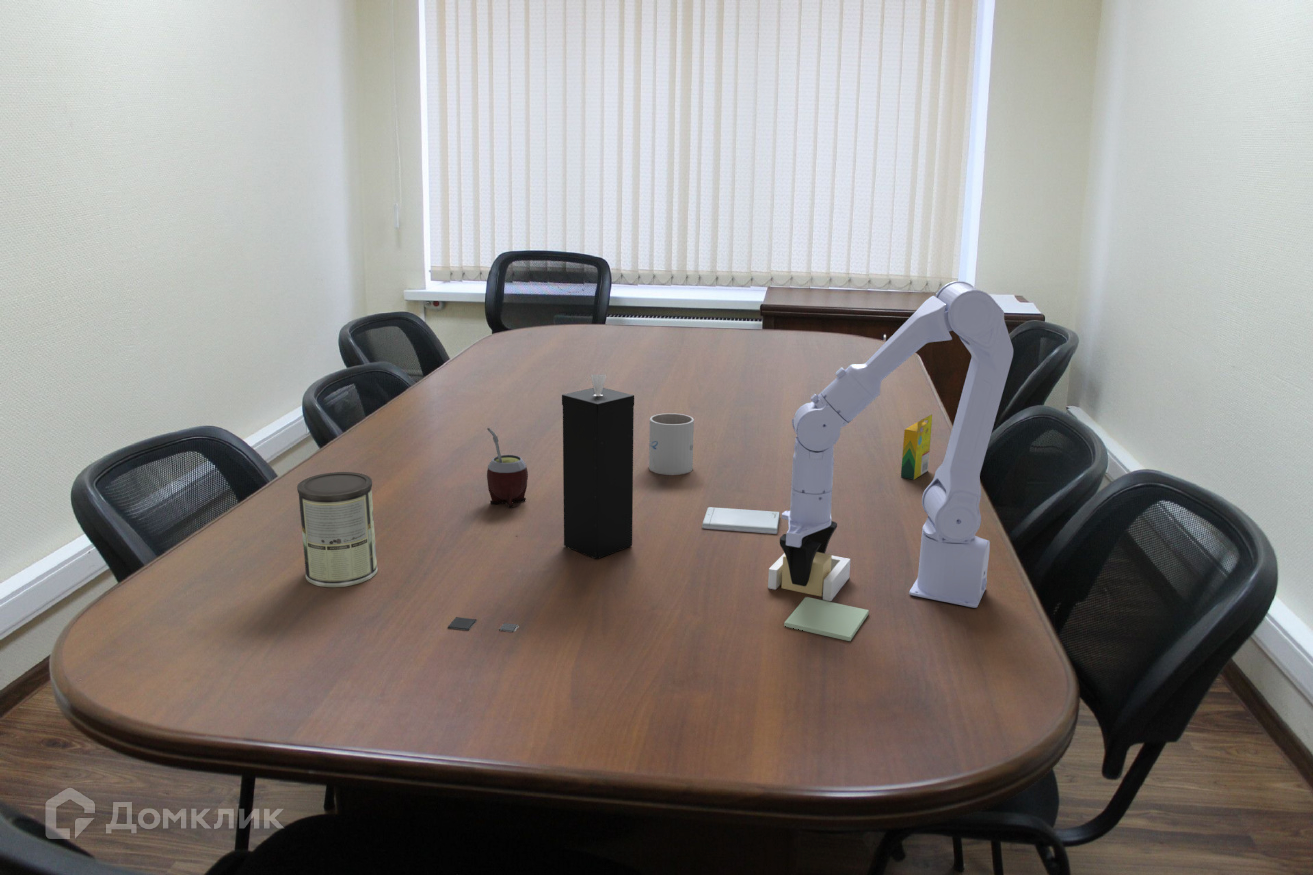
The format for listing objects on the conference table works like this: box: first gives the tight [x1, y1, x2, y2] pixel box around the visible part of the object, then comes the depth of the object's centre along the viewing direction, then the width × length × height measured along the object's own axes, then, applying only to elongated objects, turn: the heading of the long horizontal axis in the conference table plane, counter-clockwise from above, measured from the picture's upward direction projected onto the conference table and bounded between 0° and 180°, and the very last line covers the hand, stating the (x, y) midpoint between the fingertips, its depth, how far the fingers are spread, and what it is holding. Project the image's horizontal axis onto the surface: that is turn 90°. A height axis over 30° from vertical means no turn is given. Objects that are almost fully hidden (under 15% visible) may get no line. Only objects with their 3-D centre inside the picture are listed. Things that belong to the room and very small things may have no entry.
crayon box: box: [900, 414, 933, 480], centre depth 199 cm, size 7×3×12 cm, turn 144°
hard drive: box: [701, 506, 781, 535], centre depth 174 cm, size 2×8×12 cm
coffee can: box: [296, 471, 379, 588], centre depth 149 cm, size 10×10×14 cm
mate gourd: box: [486, 427, 529, 509], centre depth 179 cm, size 8×8×15 cm
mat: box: [783, 596, 870, 642], centre depth 139 cm, size 9×9×1 cm
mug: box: [648, 412, 695, 476], centre depth 203 cm, size 12×9×10 cm
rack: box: [767, 552, 852, 602], centre depth 150 cm, size 9×9×3 cm
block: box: [780, 552, 833, 597], centre depth 148 cm, size 6×4×5 cm, turn 64°
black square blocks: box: [447, 616, 519, 633], centre depth 136 cm, size 14×20×1 cm
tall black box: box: [561, 374, 635, 559], centre depth 159 cm, size 8×8×28 cm
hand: (806, 576), depth 149 cm, fingers open, 5 cm apart
